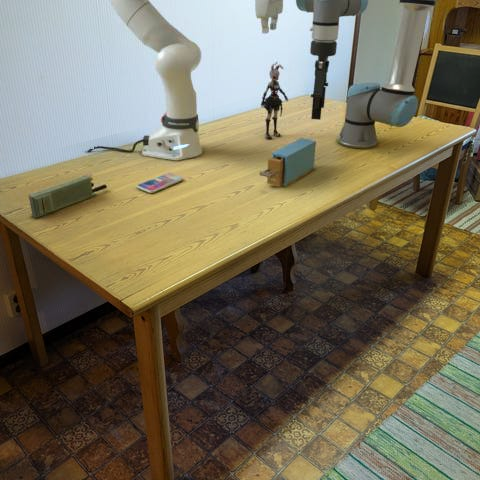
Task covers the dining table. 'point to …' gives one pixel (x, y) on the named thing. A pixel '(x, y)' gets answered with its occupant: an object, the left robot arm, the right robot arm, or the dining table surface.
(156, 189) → the smartphone
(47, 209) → the handheld radio
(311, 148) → the tall blue open box
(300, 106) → the dining table surface
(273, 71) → the figurine
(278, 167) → the drawer
